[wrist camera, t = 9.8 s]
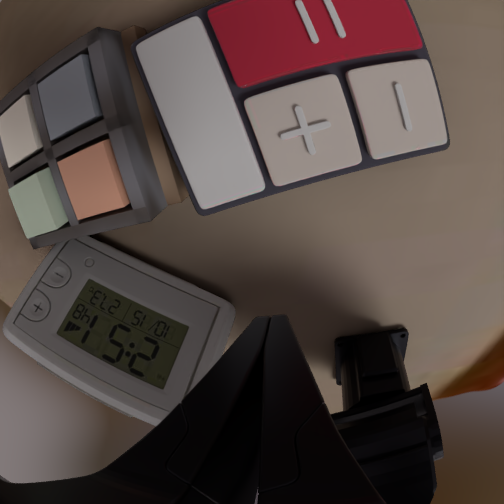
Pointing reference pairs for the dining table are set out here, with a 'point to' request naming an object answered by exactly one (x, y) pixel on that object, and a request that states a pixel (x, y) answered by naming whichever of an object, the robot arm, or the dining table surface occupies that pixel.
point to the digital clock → (119, 327)
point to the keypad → (104, 137)
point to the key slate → (70, 98)
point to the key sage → (38, 204)
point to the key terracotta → (94, 180)
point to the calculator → (289, 94)
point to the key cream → (20, 132)
